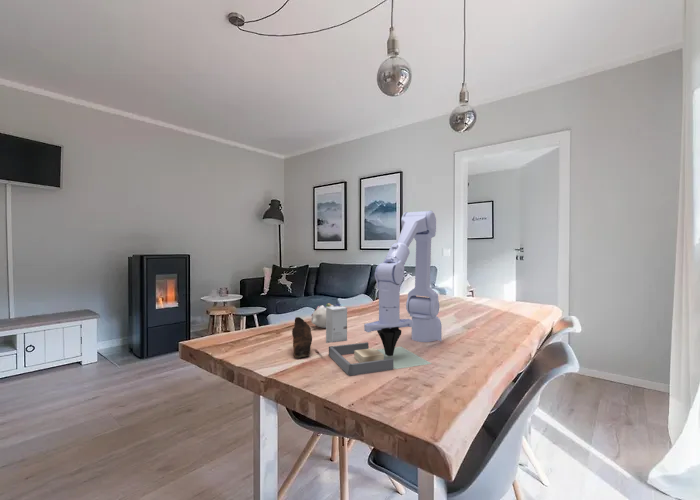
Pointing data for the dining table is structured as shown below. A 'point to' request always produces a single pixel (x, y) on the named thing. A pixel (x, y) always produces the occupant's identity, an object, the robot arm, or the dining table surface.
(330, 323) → the skincare box
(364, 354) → the birch tile
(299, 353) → the decorative rock
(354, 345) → the box
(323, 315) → the cat figurine
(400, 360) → the far plate
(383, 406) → the dining table surface
